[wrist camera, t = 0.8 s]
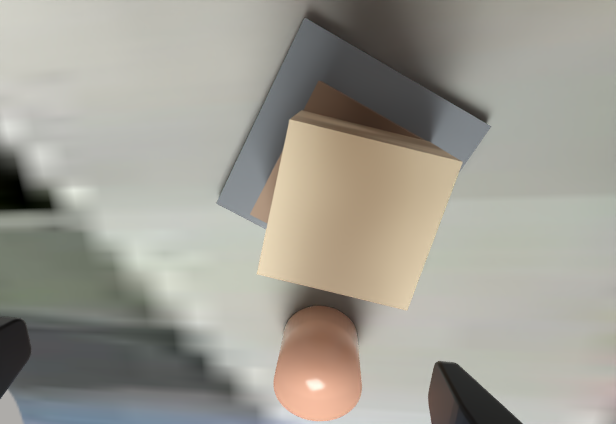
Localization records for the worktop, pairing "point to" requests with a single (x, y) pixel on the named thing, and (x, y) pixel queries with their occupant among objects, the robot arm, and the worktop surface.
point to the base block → (335, 106)
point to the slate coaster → (354, 83)
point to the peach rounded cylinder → (318, 365)
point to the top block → (355, 209)
